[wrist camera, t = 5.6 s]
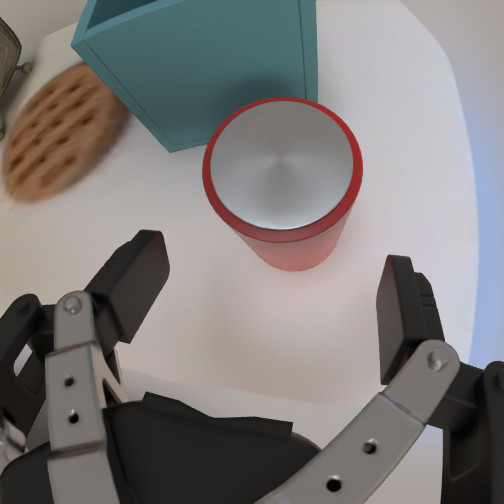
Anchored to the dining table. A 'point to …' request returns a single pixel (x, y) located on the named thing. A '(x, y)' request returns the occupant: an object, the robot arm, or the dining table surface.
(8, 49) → the tabletop clock
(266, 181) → the can
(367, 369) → the dining table surface
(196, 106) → the teal open box
